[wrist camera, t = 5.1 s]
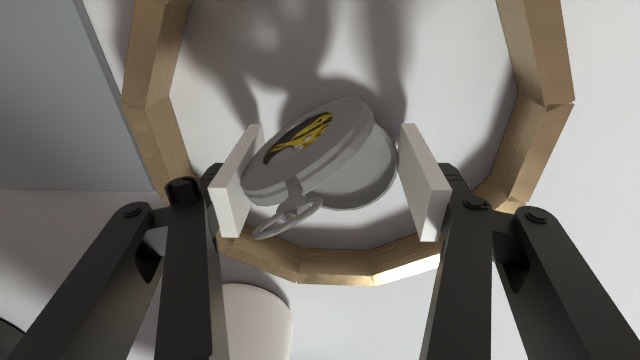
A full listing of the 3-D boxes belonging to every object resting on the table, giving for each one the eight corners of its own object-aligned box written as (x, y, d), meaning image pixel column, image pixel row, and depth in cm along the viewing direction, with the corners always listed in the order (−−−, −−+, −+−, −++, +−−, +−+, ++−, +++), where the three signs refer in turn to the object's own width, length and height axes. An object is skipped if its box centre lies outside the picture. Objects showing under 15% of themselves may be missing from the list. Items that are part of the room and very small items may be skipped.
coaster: (6, 184, 22) (-2, 188, 21) (-135, -3, 15) (-152, -3, 15) (158, 186, 21) (153, 191, 21) (77, -10, 14) (67, -10, 14)
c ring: (206, 255, 25) (193, 279, 23) (80, -98, 13) (29, -115, 11) (473, 263, 23) (486, 290, 21) (629, -129, 11) (696, -156, 9)
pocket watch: (362, 214, 20) (379, 369, 12) (249, 169, 19) (178, 312, 10) (434, 114, 16) (536, 247, 8) (295, 46, 15) (238, 119, 6)
